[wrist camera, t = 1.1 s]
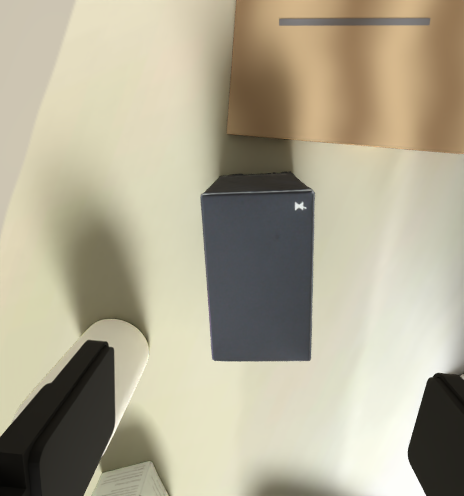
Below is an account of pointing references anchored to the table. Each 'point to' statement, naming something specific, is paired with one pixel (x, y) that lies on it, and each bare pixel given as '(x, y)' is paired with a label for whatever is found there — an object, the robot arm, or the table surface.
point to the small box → (259, 266)
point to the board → (350, 72)
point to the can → (125, 361)
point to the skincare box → (131, 482)
